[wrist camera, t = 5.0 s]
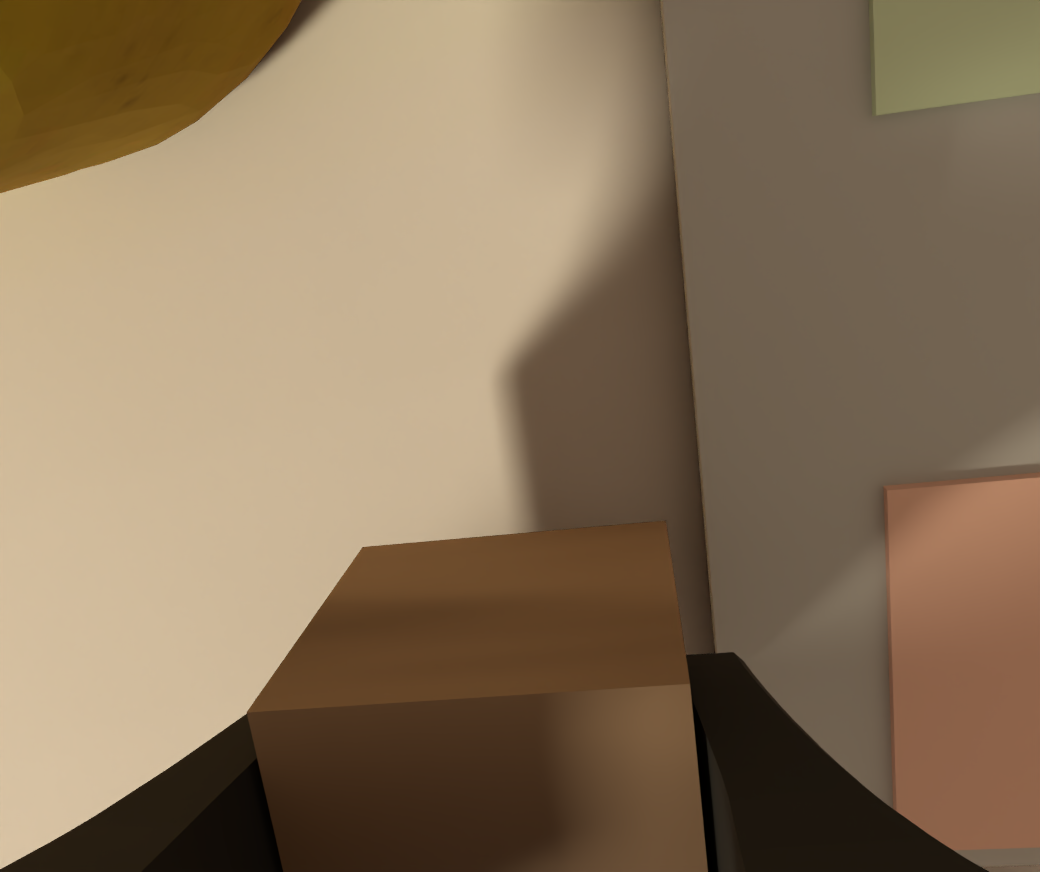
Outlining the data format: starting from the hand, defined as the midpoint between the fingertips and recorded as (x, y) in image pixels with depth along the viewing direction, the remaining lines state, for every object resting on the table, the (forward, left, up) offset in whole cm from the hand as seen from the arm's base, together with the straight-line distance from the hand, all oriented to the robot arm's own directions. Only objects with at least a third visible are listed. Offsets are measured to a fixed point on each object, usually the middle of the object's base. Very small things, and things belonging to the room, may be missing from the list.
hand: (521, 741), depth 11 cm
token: (0, 0, -2) cm, 2 cm away
